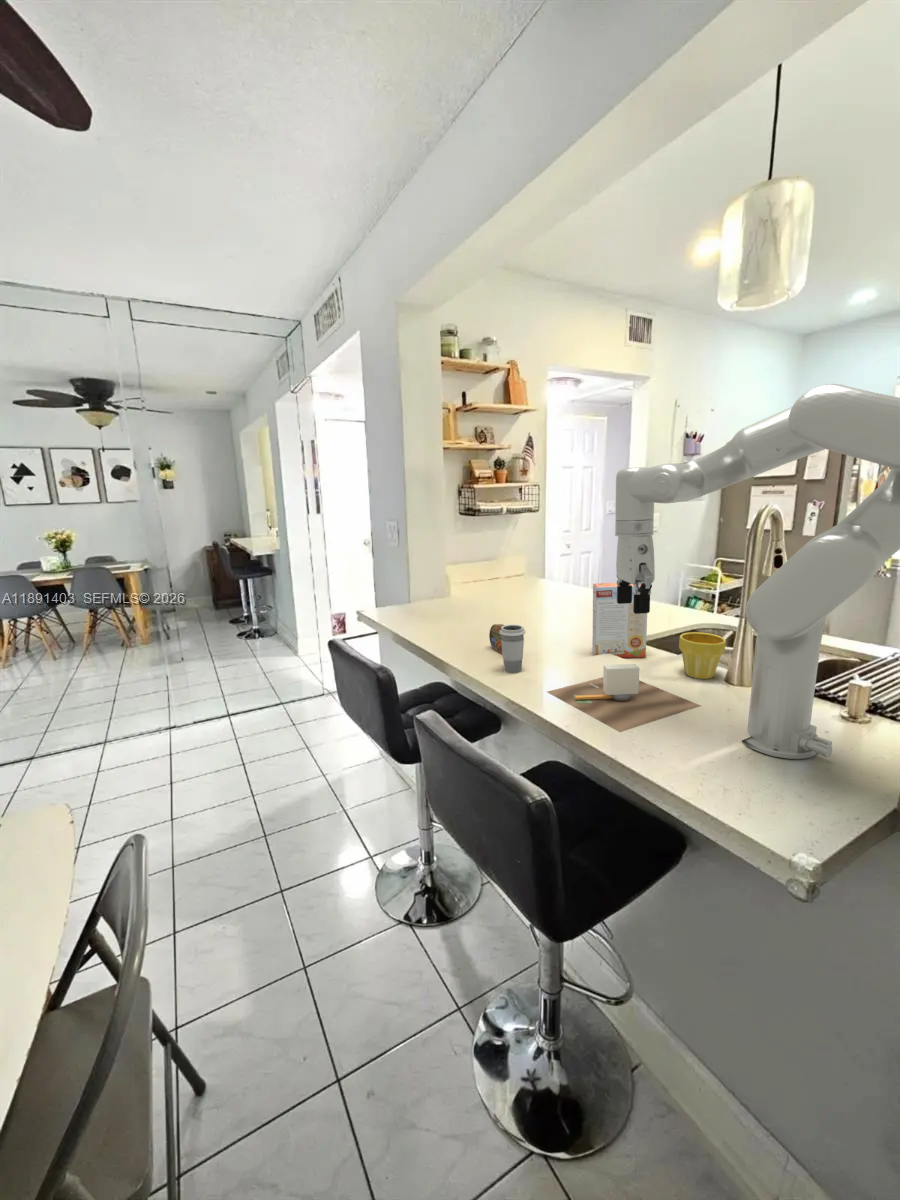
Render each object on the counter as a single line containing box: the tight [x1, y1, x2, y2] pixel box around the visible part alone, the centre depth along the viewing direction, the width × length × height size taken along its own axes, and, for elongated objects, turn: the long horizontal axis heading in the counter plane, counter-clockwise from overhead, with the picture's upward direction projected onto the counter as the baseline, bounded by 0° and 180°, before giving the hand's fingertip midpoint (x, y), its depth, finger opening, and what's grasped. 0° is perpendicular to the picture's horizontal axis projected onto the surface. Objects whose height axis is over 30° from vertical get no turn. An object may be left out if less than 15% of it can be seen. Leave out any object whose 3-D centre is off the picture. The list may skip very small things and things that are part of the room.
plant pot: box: [678, 631, 727, 680], centre depth 126 cm, size 10×10×10 cm
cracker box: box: [591, 582, 648, 659], centre depth 142 cm, size 14×6×21 cm, turn 84°
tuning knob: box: [575, 663, 640, 701], centre depth 111 cm, size 14×4×7 cm, turn 91°
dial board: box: [547, 677, 702, 733], centre depth 112 cm, size 23×23×2 cm
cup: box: [499, 624, 526, 674], centre depth 134 cm, size 7×7×12 cm
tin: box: [488, 623, 506, 655], centre depth 149 cm, size 15×3×8 cm, turn 25°
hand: (632, 607), depth 108 cm, fingers open, 9 cm apart
